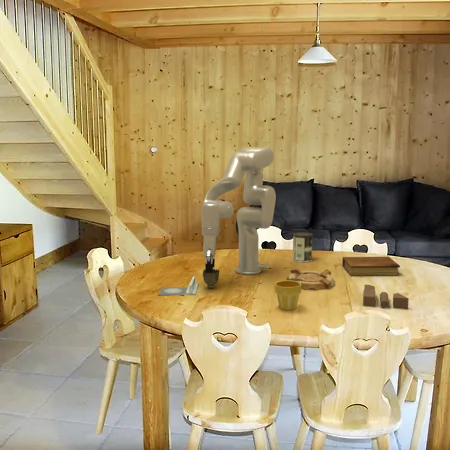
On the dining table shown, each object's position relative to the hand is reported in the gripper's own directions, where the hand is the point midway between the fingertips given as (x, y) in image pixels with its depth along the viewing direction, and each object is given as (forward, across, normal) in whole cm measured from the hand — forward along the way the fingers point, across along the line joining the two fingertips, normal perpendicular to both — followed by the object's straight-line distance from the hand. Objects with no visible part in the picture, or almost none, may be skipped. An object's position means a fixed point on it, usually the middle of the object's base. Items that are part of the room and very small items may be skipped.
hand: (210, 270), depth 241 cm
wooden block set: (+8, +15, +72) cm, 74 cm away
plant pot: (+9, +24, +32) cm, 41 cm away
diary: (+7, -32, +76) cm, 82 cm away
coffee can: (+6, -53, +44) cm, 69 cm away
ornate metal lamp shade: (+8, -1, 0) cm, 8 cm away
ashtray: (+8, -11, +44) cm, 46 cm away
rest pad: (+9, +5, -16) cm, 18 cm away
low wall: (+8, +2, -8) cm, 11 cm away
